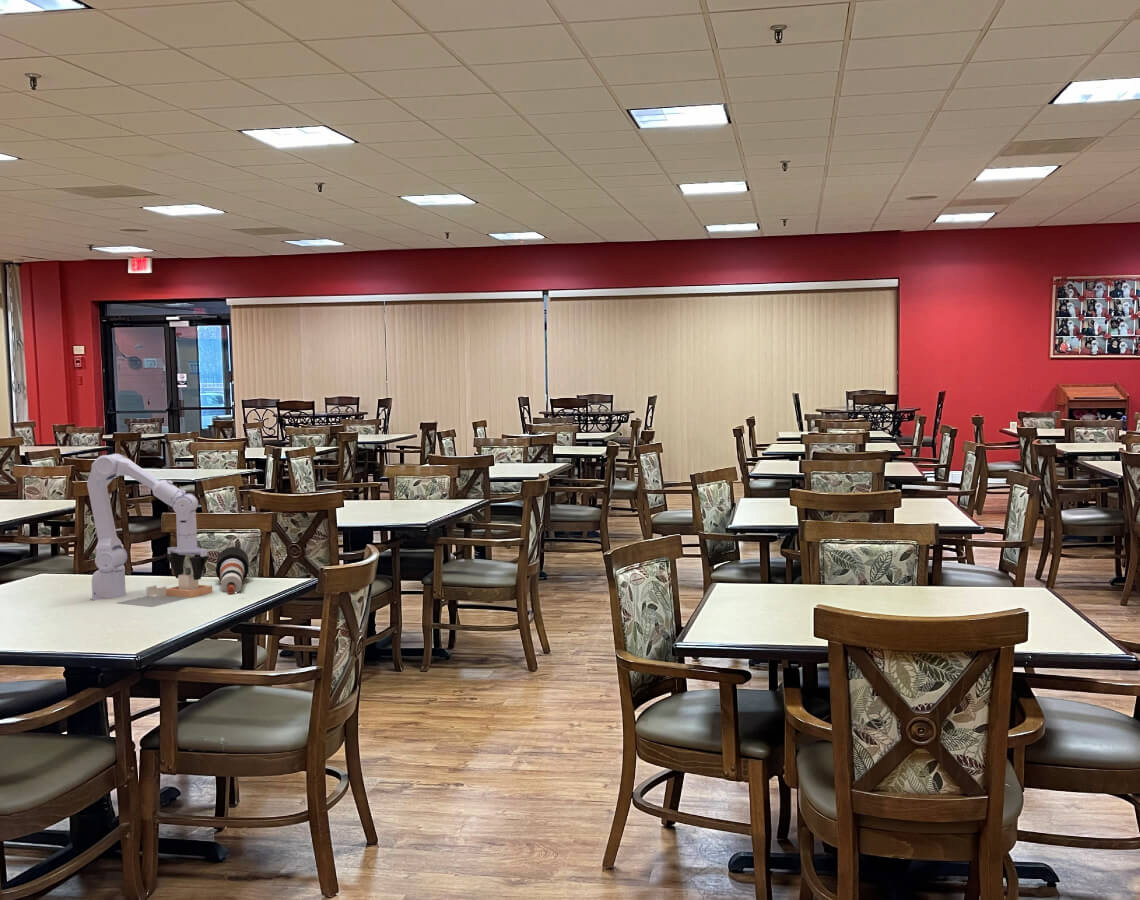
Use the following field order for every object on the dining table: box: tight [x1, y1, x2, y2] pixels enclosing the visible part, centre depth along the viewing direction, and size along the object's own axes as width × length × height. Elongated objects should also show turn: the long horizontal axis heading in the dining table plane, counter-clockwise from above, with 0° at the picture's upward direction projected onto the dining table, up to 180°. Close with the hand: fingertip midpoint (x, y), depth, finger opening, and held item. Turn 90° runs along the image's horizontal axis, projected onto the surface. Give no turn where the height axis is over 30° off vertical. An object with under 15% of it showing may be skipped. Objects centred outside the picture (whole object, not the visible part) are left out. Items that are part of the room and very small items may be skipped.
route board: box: [116, 593, 209, 608], centre depth 308 cm, size 15×24×1 cm, turn 154°
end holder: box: [166, 584, 214, 599], centre depth 313 cm, size 10×9×2 cm
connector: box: [177, 566, 200, 590], centre depth 312 cm, size 4×4×8 cm
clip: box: [145, 585, 167, 598], centre depth 309 cm, size 5×3×3 cm, turn 64°
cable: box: [215, 546, 250, 595], centre depth 327 cm, size 10×34×10 cm, turn 14°
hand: (188, 578), depth 312 cm, fingers open, 7 cm apart
